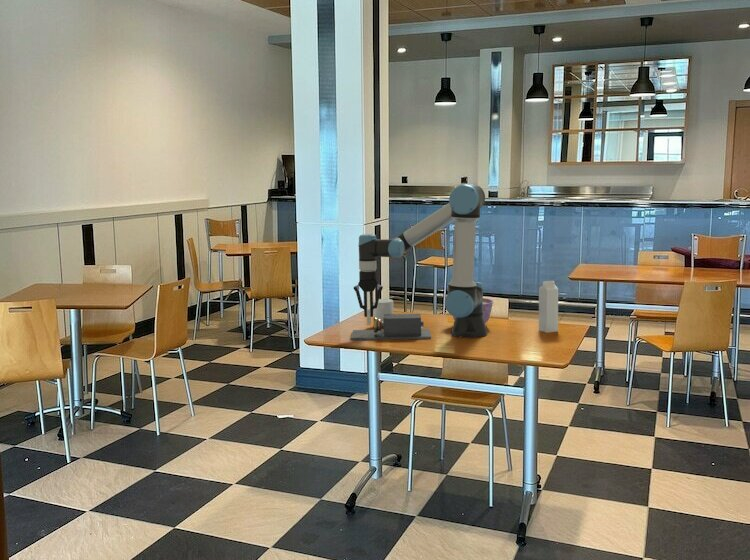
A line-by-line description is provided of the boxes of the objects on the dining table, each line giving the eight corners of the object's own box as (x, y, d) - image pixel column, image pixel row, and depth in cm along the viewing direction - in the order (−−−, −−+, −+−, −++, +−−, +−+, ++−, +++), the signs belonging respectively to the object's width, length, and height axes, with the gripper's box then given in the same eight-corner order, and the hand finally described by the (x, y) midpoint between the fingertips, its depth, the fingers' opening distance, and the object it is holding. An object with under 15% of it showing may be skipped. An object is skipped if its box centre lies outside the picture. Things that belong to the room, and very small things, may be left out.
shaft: (373, 334, 315) (373, 319, 314) (374, 330, 322) (374, 316, 321) (423, 333, 314) (423, 318, 313) (423, 330, 321) (423, 315, 320)
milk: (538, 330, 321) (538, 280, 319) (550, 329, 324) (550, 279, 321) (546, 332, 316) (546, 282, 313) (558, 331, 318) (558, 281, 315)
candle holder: (394, 328, 334) (393, 302, 332) (372, 328, 334) (371, 302, 332) (393, 323, 343) (393, 298, 342) (373, 324, 344) (372, 299, 342)
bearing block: (350, 340, 311) (350, 320, 310) (353, 332, 327) (352, 313, 326) (430, 338, 310) (430, 319, 308) (429, 331, 325) (429, 312, 324)
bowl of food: (490, 321, 344) (490, 297, 342) (496, 330, 324) (496, 304, 322) (447, 322, 344) (447, 297, 343) (451, 331, 325) (450, 305, 323)
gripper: (383, 269, 318) (384, 322, 321) (353, 269, 319) (354, 322, 322) (382, 271, 311) (383, 325, 314) (352, 271, 311) (353, 326, 315)
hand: (368, 324), depth 318 cm, fingers closed
